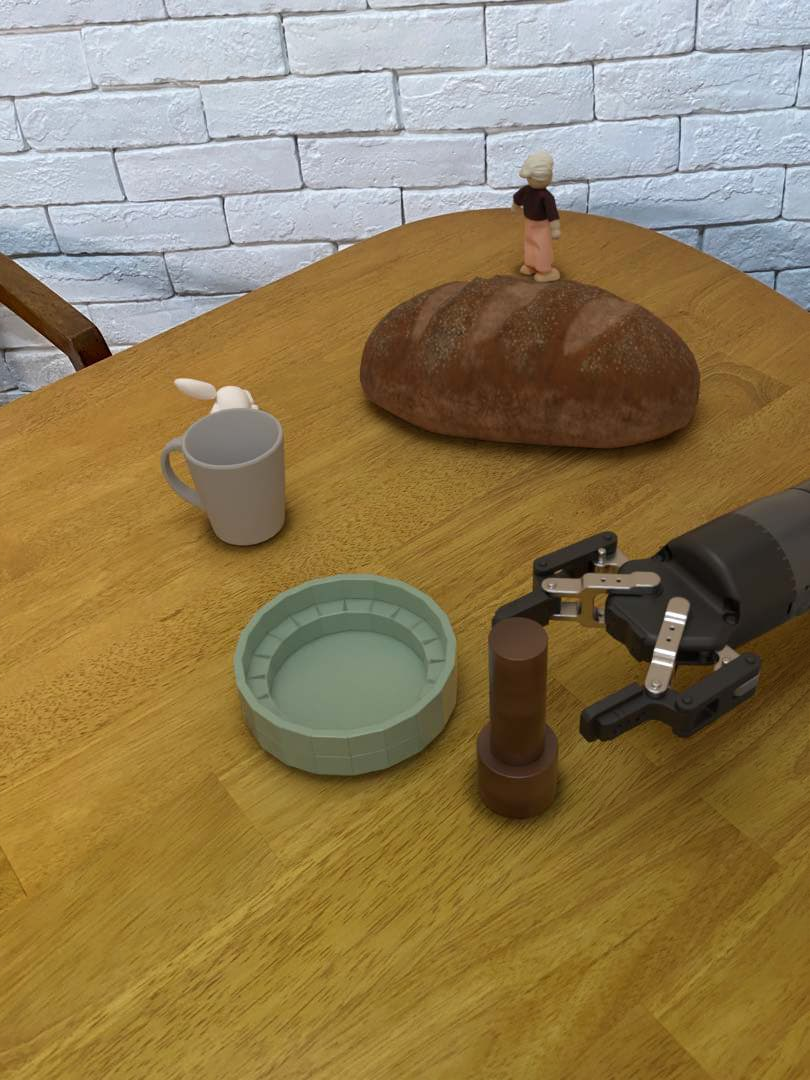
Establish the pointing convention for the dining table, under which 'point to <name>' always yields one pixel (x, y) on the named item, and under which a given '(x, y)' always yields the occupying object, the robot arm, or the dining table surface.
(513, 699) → the pestle
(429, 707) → the bowl
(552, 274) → the grandmother figurine
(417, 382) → the bread
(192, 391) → the rabbit figurine
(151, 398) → the dining table surface
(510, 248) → the dining table surface
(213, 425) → the cup
